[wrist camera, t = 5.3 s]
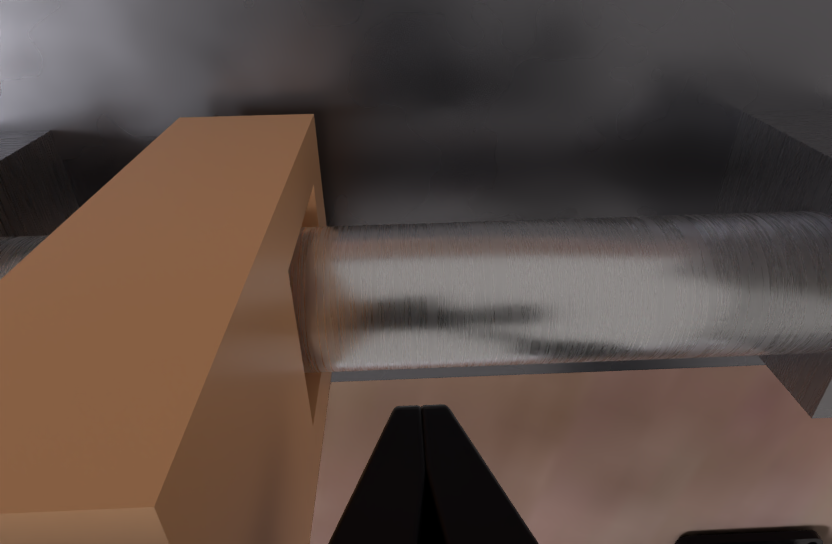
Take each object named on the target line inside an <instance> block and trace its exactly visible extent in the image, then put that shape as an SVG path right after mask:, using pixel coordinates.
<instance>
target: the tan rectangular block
mask: <svg viewBox="0 0 832 544" xmlns="http://www.w3.org/2000/svg"><path fill="white" fill-rule="evenodd" d="M301 227H327V226H326V217H325V208H324V199H323V190H322V181H321V173H320V164H319V155H318V146H317V137H316V128H315V119H314V114H291V115H254V116H217V117H180V118H178V119H177V120H176V121H175V122H174V123H173V124H172V125H171V126H169V127H168V128H167V129H166V130H165V131H164V132H163V133H162V134H161V135H159V136H158V137H157V138H156V139H155V140H154V141H153V142H152V143H151V144H150V145H148V146H147V147H146V148H145V149H144V150H143V151H142V152H141V153H140V154H139V155H137V156H136V157H135V158H134V159H133V160H132V161H131V162H130V163H129V164H127V165H126V166H125V167H124V168H123V169H122V170H121V171H120V172H119V173H118V174H116V175H115V176H114V177H113V178H112V179H111V180H110V181H109V182H108V183H106V184H105V185H104V186H103V187H102V188H101V189H100V190H99V191H98V192H97V193H95V194H94V195H93V196H92V197H91V198H90V199H89V200H88V201H87V202H86V203H84V204H83V205H82V206H81V207H80V208H79V209H78V210H77V211H76V212H74V213H73V214H72V215H71V216H70V217H69V218H68V219H67V220H66V221H65V222H63V223H62V224H61V225H60V226H59V227H58V228H57V229H56V230H55V231H54V232H52V233H51V234H50V235H49V236H48V237H47V238H46V239H45V240H44V241H42V242H41V243H40V244H39V245H38V246H37V247H36V248H35V249H34V250H33V251H31V252H30V253H29V254H28V255H27V256H26V257H25V258H24V259H23V260H22V261H20V262H19V263H18V264H17V265H16V266H15V267H14V268H13V269H12V270H10V271H9V272H8V273H7V274H6V275H5V276H4V277H3V278H2V279H1V280H0V544H309V543H310V536H311V528H312V520H313V513H314V505H315V497H316V490H317V482H318V474H319V467H320V459H321V452H322V444H323V436H324V429H325V421H326V413H327V406H328V398H329V390H330V383H331V375H332V372H314V373H304V367H303V361H302V355H301V349H300V342H299V336H298V330H297V324H296V318H295V311H294V305H293V299H292V293H291V287H290V280H289V274H288V270H289V266H290V263H291V259H292V256H293V253H294V249H295V246H296V243H297V239H298V236H299V232H300V229H301Z"/></svg>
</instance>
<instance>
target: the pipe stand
mask: <svg viewBox="0 0 832 544" xmlns="http://www.w3.org/2000/svg"><path fill="white" fill-rule="evenodd" d="M291 114H314V119H315V128H316V137H317V146H318V155H319V164H320V173H321V181H322V190H323V199H324V208H325V217H326V226H327V227H301V229H300V232H299V236H298V239H297V243H296V246H295V249H294V253H293V256H292V259H291V263H290V266H289V270H288V274H289V280H290V287H291V293H292V299H293V305H294V311H295V318H296V324H297V330H298V336H299V342H300V349H301V355H302V361H303V367H304V373H314V372H332V375H331V382H341V381H367V380H392V379H418V378H443V377H469V376H494V375H520V374H545V373H571V372H597V371H622V370H648V369H673V368H699V367H724V366H750V365H767V367H768V368H769V369H770V370H771V371H772V372H773V374H774V375H775V376H776V377H777V378H778V379H779V381H780V382H781V383H782V384H783V385H784V386H785V388H786V389H787V390H788V391H789V392H790V393H791V395H792V396H793V397H794V398H795V399H796V400H797V402H798V403H799V404H800V405H801V406H802V407H803V409H804V410H805V411H806V412H807V413H808V414H809V416H810V417H811V418H831V417H832V0H0V280H1V279H2V278H3V277H4V276H5V275H6V274H7V273H8V272H9V271H10V270H12V269H13V268H14V267H15V266H16V265H17V264H18V263H19V262H20V261H22V260H23V259H24V258H25V257H26V256H27V255H28V254H29V253H30V252H31V251H33V250H34V249H35V248H36V247H37V246H38V245H39V244H40V243H41V242H42V241H44V240H45V239H46V238H47V237H48V236H49V235H50V234H51V233H52V232H54V231H55V230H56V229H57V228H58V227H59V226H60V225H61V224H62V223H63V222H65V221H66V220H67V219H68V218H69V217H70V216H71V215H72V214H73V213H74V212H76V211H77V210H78V209H79V208H80V207H81V206H82V205H83V204H84V203H86V202H87V201H88V200H89V199H90V198H91V197H92V196H93V195H94V194H95V193H97V192H98V191H99V190H100V189H101V188H102V187H103V186H104V185H105V184H106V183H108V182H109V181H110V180H111V179H112V178H113V177H114V176H115V175H116V174H118V173H119V172H120V171H121V170H122V169H123V168H124V167H125V166H126V165H127V164H129V163H130V162H131V161H132V160H133V159H134V158H135V157H136V156H137V155H139V154H140V153H141V152H142V151H143V150H144V149H145V148H146V147H147V146H148V145H150V144H151V143H152V142H153V141H154V140H155V139H156V138H157V137H158V136H159V135H161V134H162V133H163V132H164V131H165V130H166V129H167V128H168V127H169V126H171V125H172V124H173V123H174V122H175V121H176V120H177V119H178V118H180V117H217V116H254V115H291Z"/></svg>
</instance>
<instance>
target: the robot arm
mask: <svg viewBox="0 0 832 544" xmlns="http://www.w3.org/2000/svg"><path fill="white" fill-rule="evenodd" d="M328 544H538V542H537V541H536V539H535V537H534V536H533V534H532V533H531V531H530V530H529V528H528V527H527V525H526V524H525V522H524V521H523V519H522V518H521V516H520V515H519V513H518V512H517V510H516V509H515V507H514V506H513V504H512V503H511V501H510V500H509V498H508V496H507V495H506V493H505V492H504V490H503V489H502V487H501V486H500V484H499V483H498V481H497V480H496V478H495V477H494V475H493V474H492V472H491V471H490V469H489V468H488V466H487V465H486V463H485V462H484V460H483V459H482V457H481V455H480V454H479V452H478V451H477V449H476V448H475V446H474V445H473V443H472V442H471V440H470V439H469V437H468V436H467V434H466V433H465V431H464V430H463V428H462V427H461V425H460V424H459V422H458V421H457V419H456V418H455V416H454V414H453V413H452V411H451V410H450V409H449V407H448V406H446V405H423V406H422V407H420V406H417V405H416V406H397V407H395V408H394V410H393V411H392V413H391V415H390V417H389V420H388V422H387V424H386V426H385V428H384V430H383V432H382V434H381V436H380V438H379V440H378V442H377V444H376V446H375V448H374V450H373V453H372V455H371V457H370V459H369V461H368V463H367V465H366V467H365V469H364V471H363V473H362V475H361V477H360V479H359V481H358V484H357V486H356V488H355V490H354V492H353V494H352V496H351V498H350V500H349V502H348V504H347V506H346V508H345V510H344V512H343V515H342V517H341V519H340V521H339V523H338V525H337V527H336V529H335V531H334V533H333V535H332V537H331V539H330V541H329V543H328ZM675 544H823V541H822V539H821V538H820V537H819V535H818V534H817V532H815V531H813V530H805V531H783V532H762V533H741V534H719V535H698V536H685V537H682V538H680V539H678V540H677V541H676V542H675Z"/></svg>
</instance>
